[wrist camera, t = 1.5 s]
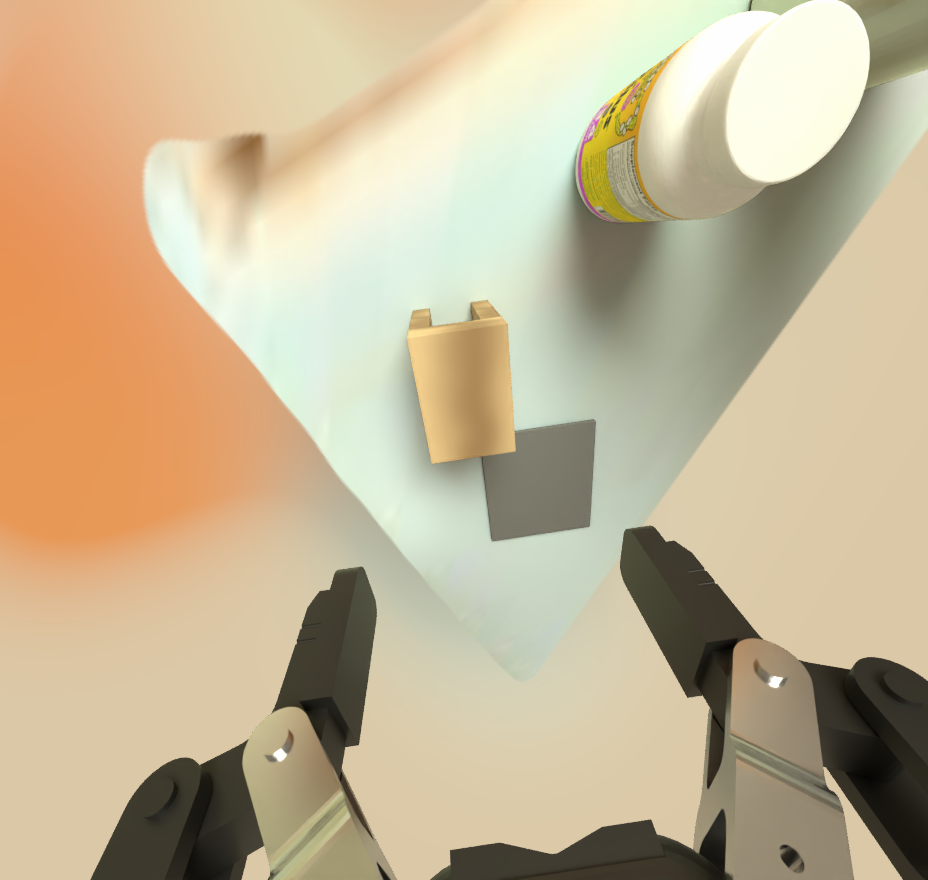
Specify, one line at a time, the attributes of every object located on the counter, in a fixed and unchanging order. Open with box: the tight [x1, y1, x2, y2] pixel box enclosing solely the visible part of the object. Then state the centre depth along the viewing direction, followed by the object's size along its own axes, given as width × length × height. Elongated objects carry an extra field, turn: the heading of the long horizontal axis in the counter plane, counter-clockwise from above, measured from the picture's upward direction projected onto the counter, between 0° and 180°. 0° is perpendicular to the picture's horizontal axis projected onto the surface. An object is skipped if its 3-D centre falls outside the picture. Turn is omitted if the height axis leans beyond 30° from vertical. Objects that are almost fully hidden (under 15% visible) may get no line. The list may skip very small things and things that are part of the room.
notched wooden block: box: [407, 300, 516, 464], centre depth 25 cm, size 5×8×8 cm
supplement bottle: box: [575, 0, 870, 223], centre depth 18 cm, size 7×7×13 cm
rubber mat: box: [482, 420, 596, 541], centre depth 35 cm, size 12×10×1 cm
